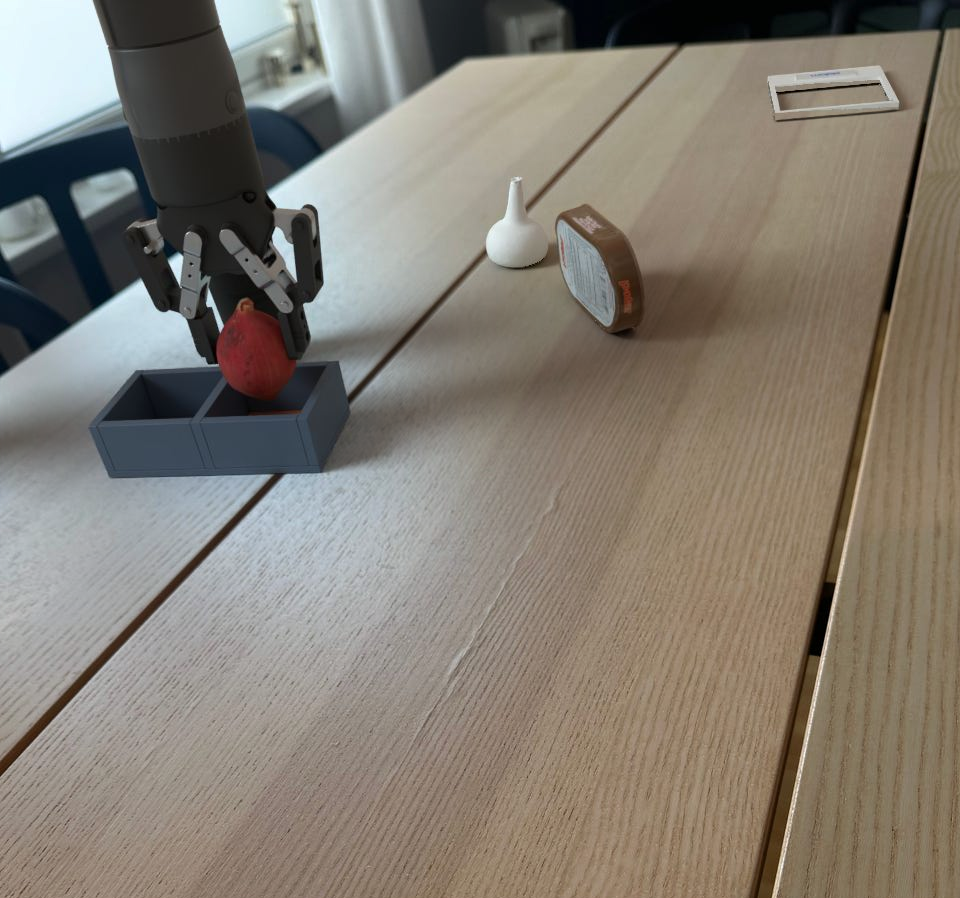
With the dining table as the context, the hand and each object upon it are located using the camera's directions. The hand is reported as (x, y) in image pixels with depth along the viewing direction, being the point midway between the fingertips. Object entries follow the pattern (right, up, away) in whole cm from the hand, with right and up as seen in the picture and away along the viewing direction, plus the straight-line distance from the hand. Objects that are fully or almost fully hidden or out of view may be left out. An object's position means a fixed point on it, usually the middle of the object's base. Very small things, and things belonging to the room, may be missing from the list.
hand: (257, 357), depth 76 cm
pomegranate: (0, -3, +3) cm, 4 cm away
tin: (+27, +8, +16) cm, 33 cm away
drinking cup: (-3, +4, +17) cm, 18 cm away
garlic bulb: (+21, +17, +28) cm, 39 cm away
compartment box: (-3, -5, +6) cm, 8 cm away
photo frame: (+62, +50, +57) cm, 98 cm away
